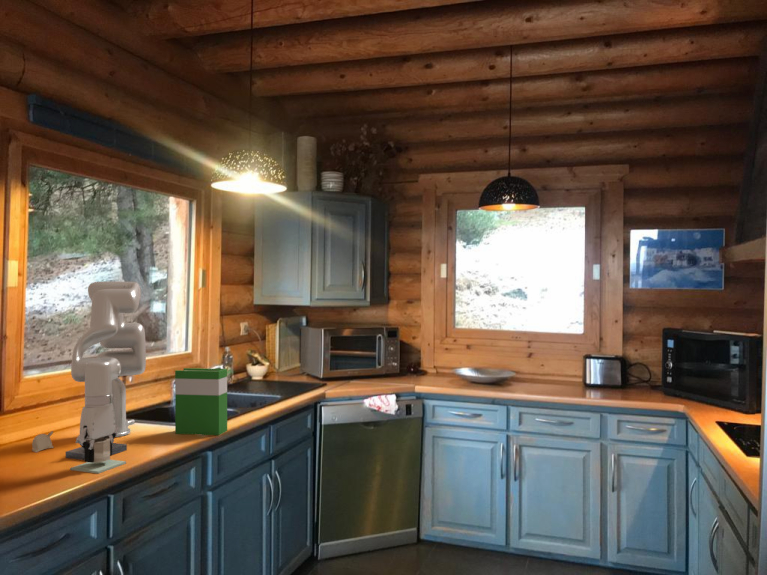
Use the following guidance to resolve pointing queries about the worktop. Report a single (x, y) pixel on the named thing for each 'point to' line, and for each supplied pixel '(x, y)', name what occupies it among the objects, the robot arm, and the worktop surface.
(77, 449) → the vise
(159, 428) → the worktop surface
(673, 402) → the worktop surface
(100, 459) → the hollow octagonal tube
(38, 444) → the decorative ornament
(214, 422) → the green banded box
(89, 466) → the mat
